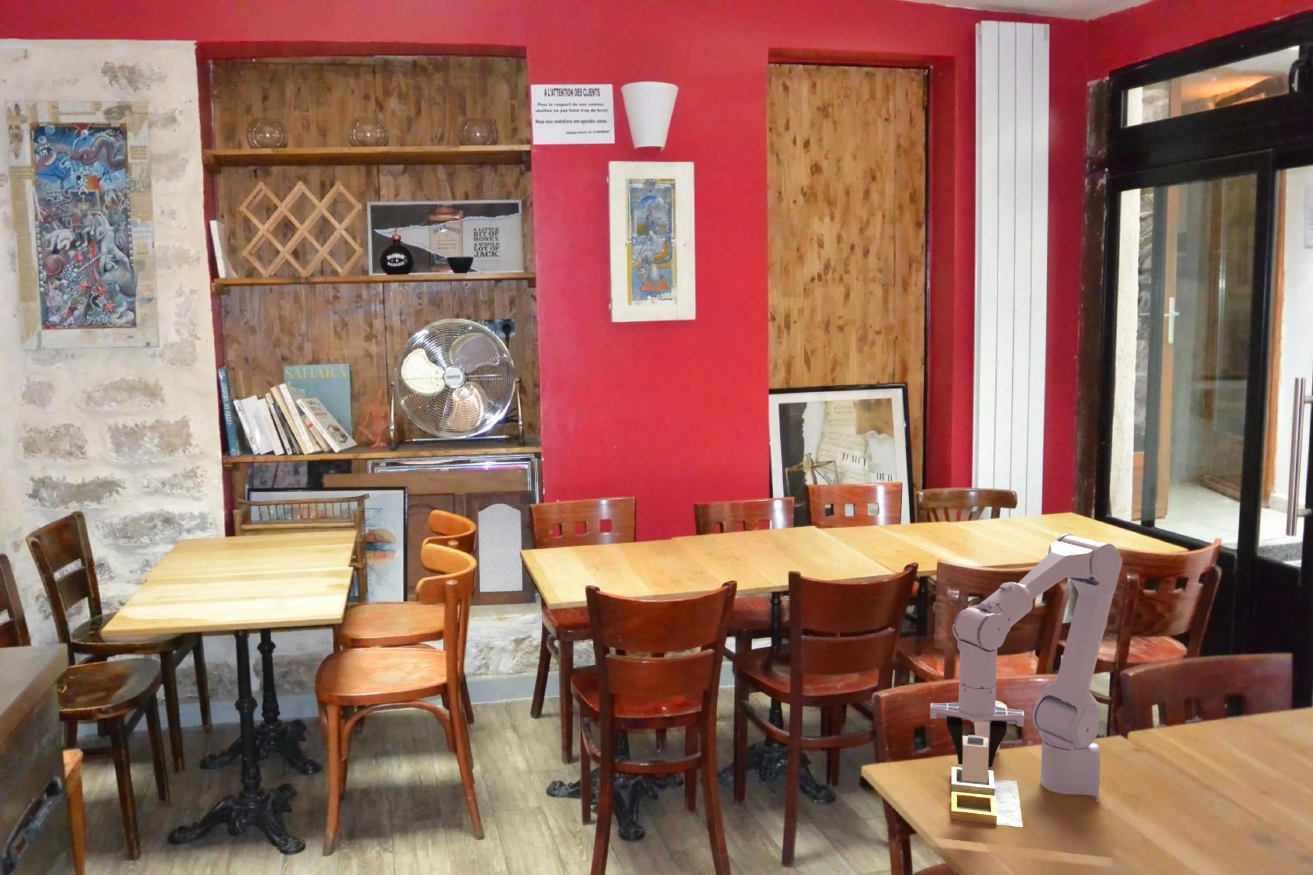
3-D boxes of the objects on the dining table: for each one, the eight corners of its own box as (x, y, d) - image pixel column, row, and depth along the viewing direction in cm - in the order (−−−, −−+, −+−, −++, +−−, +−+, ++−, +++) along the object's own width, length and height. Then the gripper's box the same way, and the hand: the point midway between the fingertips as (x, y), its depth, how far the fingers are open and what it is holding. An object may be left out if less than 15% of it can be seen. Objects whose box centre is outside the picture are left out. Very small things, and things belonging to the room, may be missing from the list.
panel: (1016, 786, 192) (1017, 772, 192) (1022, 833, 176) (1023, 818, 176) (951, 779, 195) (951, 766, 195) (951, 825, 179) (951, 810, 179)
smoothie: (1001, 748, 208) (1004, 676, 206) (1009, 762, 202) (1011, 689, 200) (966, 747, 209) (969, 675, 207) (973, 761, 203) (975, 688, 201)
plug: (986, 772, 182) (988, 733, 181) (987, 782, 178) (989, 742, 177) (961, 770, 183) (962, 730, 182) (961, 780, 179) (963, 740, 178)
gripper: (930, 687, 176) (928, 768, 178) (1026, 695, 173) (1023, 778, 174) (931, 672, 183) (929, 750, 185) (1023, 679, 179) (1020, 759, 181)
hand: (975, 763), depth 180 cm, fingers closed on plug, 4 cm apart
